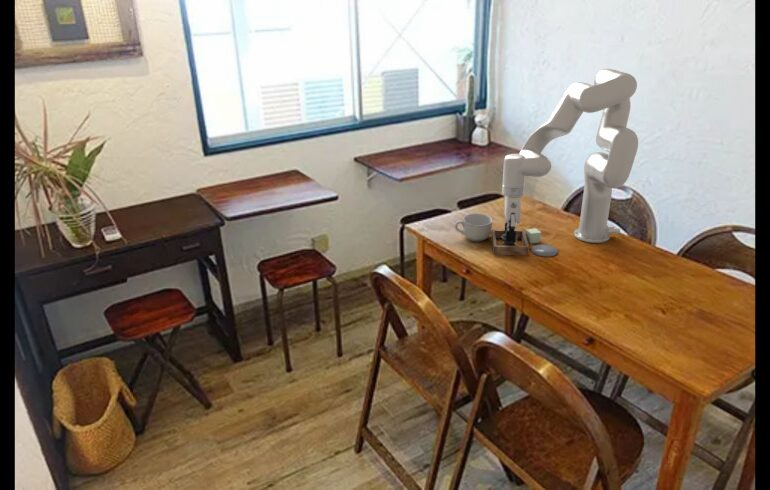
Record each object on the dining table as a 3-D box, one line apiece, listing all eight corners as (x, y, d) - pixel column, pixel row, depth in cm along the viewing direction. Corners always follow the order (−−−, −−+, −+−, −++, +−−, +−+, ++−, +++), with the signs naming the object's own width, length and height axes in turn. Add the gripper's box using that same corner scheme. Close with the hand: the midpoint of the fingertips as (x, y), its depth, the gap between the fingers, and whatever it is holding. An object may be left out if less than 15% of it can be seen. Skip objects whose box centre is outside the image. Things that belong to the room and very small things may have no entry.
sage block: (535, 238, 214) (536, 228, 212) (540, 242, 210) (541, 232, 208) (525, 239, 213) (526, 229, 211) (530, 243, 209) (531, 233, 208)
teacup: (490, 232, 219) (491, 213, 216) (492, 244, 209) (493, 224, 206) (453, 232, 220) (454, 212, 217) (454, 243, 211) (454, 224, 207)
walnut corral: (523, 237, 214) (524, 230, 213) (528, 255, 200) (528, 247, 199) (491, 236, 215) (491, 229, 214) (493, 254, 202) (493, 246, 201)
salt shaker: (518, 243, 209) (520, 212, 204) (516, 249, 204) (518, 218, 199) (502, 241, 211) (504, 211, 206) (499, 248, 206) (501, 217, 201)
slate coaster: (555, 246, 206) (555, 244, 206) (559, 257, 198) (559, 255, 198) (530, 245, 207) (530, 244, 207) (532, 256, 199) (533, 254, 199)
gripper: (526, 198, 191) (522, 247, 198) (521, 182, 206) (518, 227, 214) (503, 198, 192) (500, 247, 199) (500, 181, 207) (497, 227, 215)
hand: (509, 236), depth 206 cm, fingers closed on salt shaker, 5 cm apart
